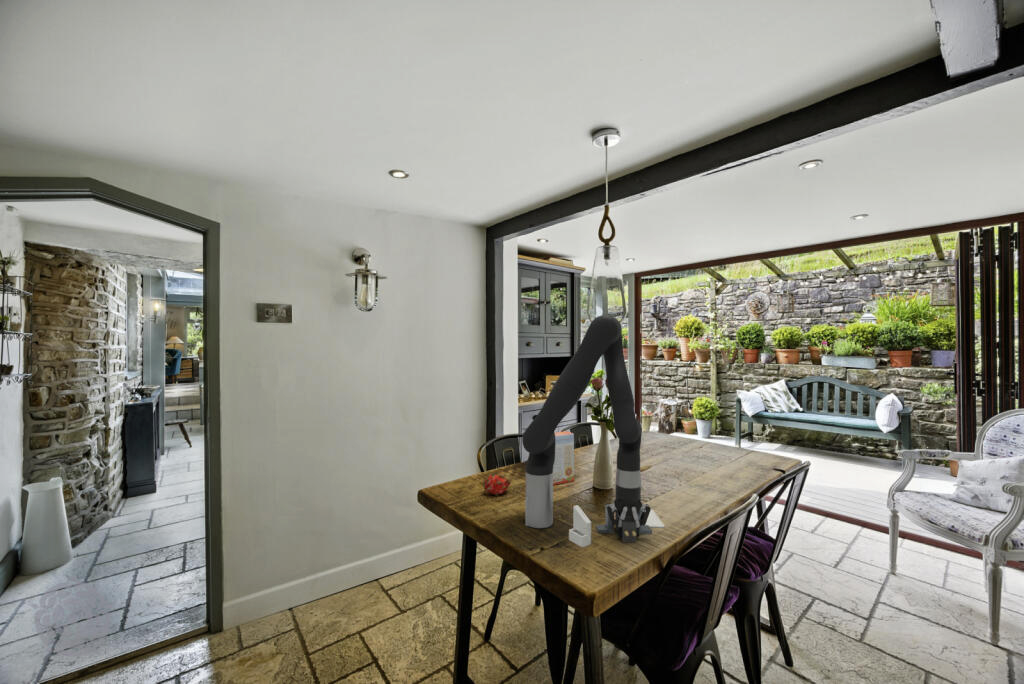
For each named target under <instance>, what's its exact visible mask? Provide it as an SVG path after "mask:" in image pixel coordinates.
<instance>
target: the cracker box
mask: <svg viewBox="0 0 1024 684" xmlns="http://www.w3.org/2000/svg"><path fill="white" fill-rule="evenodd" d="M554 433H555V462H554V465H553V486H556V485H561V484H565V483H571V482H575V433H573V432H570V431H568V430H566V431H557V432H554Z"/></svg>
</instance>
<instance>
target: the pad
mask: <svg viewBox="0 0 1024 684" xmlns="http://www.w3.org/2000/svg"><path fill="white" fill-rule="evenodd" d="M645 525H649V527H650V528H651V529H654V528H655V529H656V528H658V529H661V528H662V529H666V527H665V524H664V523H663V521H662V520H661V519H660V518H659V516H658V515H657V513H656V512H655V511H654V509H653V508H651V510H650V513H649V516H648V519H647V522H646V524H645Z"/></svg>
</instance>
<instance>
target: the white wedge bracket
mask: <svg viewBox="0 0 1024 684" xmlns="http://www.w3.org/2000/svg"><path fill="white" fill-rule="evenodd" d="M572 508H573V509H572V510H573V517H572V518H573V520H572V521H573V522H572V523H573V527H572V528H570V529H568V531H569V532H568V540H569V542H572V543H574V544H576V545H577V546H579V548H584V547H588V546H589V545H592V521H591V520H590V519H589V517H588V516H587V515H586V514H585V512H584V511H583V510H582V508H581V507H580V506H579V505H578V504H576V505H573V507H572Z"/></svg>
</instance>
